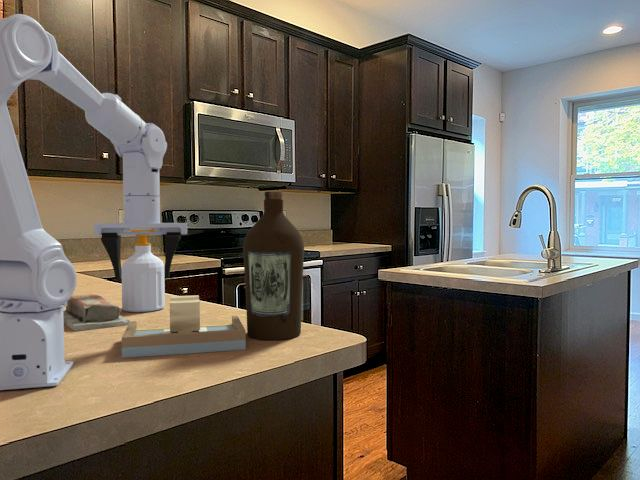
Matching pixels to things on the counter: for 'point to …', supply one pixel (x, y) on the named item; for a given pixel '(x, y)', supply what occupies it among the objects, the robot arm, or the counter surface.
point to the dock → (182, 340)
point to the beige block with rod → (184, 313)
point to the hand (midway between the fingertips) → (143, 278)
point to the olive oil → (273, 274)
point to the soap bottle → (143, 279)
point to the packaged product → (92, 313)
